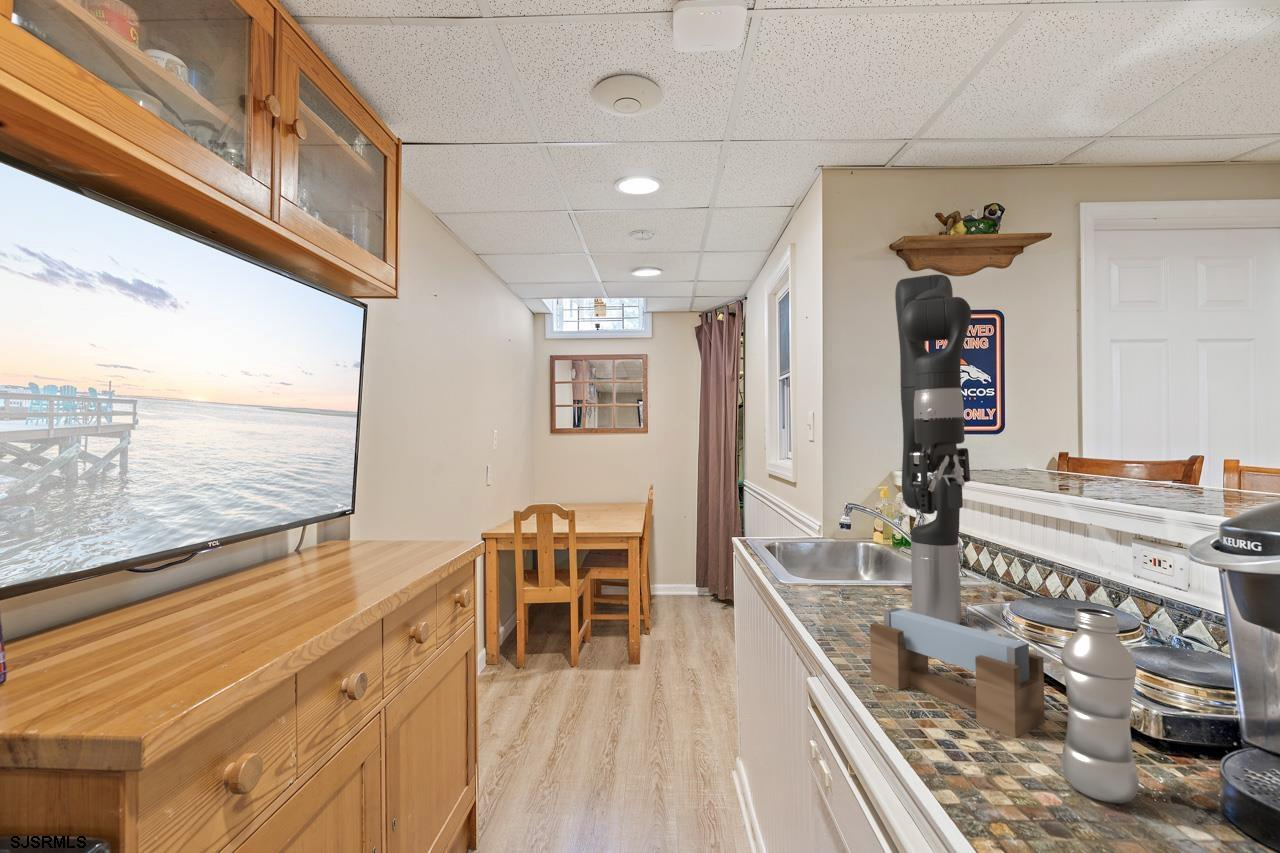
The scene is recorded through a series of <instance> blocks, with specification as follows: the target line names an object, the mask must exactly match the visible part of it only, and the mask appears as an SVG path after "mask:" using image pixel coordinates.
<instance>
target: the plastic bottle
mask: <svg viewBox="0 0 1280 853" xmlns="http://www.w3.org/2000/svg"><path fill="white" fill-rule="evenodd" d="M1073 621H1074V622H1073V624H1074V627H1076V628H1077V631H1076V632H1074V633H1073V634H1072V635H1071V636H1070V637H1069V638H1068V639H1067V641H1066V642H1065V643H1064V645H1063V647H1062V650H1061V653H1060V657H1061V663H1062V670H1063V671H1062V672H1063V675H1064V682H1065V688H1066V701H1067V721H1066V722H1067V725H1066V732H1065V741H1064V744H1063V746H1062V754H1061V760H1060V761H1061V766H1062V772H1063V774H1064V776H1065V778H1066V779H1067V781H1068V783H1069V784H1070V785H1071V786H1072V787H1073V788H1074V790H1077V791H1078V792H1080V793H1082V794H1083V795H1085V796H1087V797H1090V798H1092V799H1095V800H1098V801H1101V802H1104V803H1105V802H1106V803H1109V804H1120V805H1121V804H1123V805H1124V804H1128V803H1130V802H1131V801H1132V800H1133V799H1134V798H1135V797H1136V796H1137V794H1138V789H1139V784H1140V778H1139V773H1138V768H1137V764H1136V760H1135V758H1134V752H1133V751H1134V750H1133V742H1132V733H1131V715H1132V700H1133V693H1134V688H1135V683H1136V676H1137V664H1136V662H1135V659H1134V657H1133V656H1132V654H1131V653H1130V651H1129V650H1128V649H1127V647H1126V646H1125V645H1124V644H1123V643H1122V642H1121V640H1120V639H1119V638H1118V637H1117V634H1119V633H1120V627H1119V626H1118V625H1119V624H1118V623H1119V622H1118V615H1117V614H1116V613H1115V612H1113V611H1110V610H1105V609H1101V608H1095V607H1094V608H1093V607H1076V608H1074V620H1073Z"/></svg>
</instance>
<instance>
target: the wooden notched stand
mask: <svg viewBox="0 0 1280 853" xmlns="http://www.w3.org/2000/svg"><path fill="white" fill-rule="evenodd" d="M869 627H870V628H869V630H870V631H869V632H870V635H869V637H870V643H869V644H870V680H872V681H874V682H876V683H879V684H881V685H884V686H886V687H889V688H892V689H893V690H894V689H895V690H897V691H901V690H904V689H906V688H908V687H911V688H914V689H916V690H919V691H921V692H924V693H926V694H929V695H931V696H934V697H936V698H940V699H941V700H944V701H947V702H950V703H952V704H954V705H957V706H960V707H962V708H965V709H968V710H969V711H973V712H975V713H976V723H977V724H980V725H982V726H985V727H988V728H990V729H993V730H995V731H997V732H999V733H1002V734H1005V735H1007V736H1009V737H1012V738H1015V739H1016V738H1018V737H1020V736H1023V735H1024V734H1026V733H1028V732H1029V731H1031V730H1033V729H1035V728H1037V727H1039V726H1041V725H1043V724H1045V723H1046V721H1045V720H1046V718H1045V716H1046V714H1045V713H1046V712H1045V710H1046V709H1045V707H1046V706H1045V671H1044V668H1045V666H1044V664H1045V662H1044V656H1041V655H1038V654H1034V653H1032V652H1031V653H1030V652H1029V678H1030V680H1027V681H1025V682H1023V683H1020V667H1019V666H1016V665H1013V664H1009V663H1006V662H1003V661H1000V660H996V659H993V658H990V657H987V656H983V655H979V656H977V657H975V663H976V672H975V687H972V686H971V685H970V686H969V685H966V684H963V683H961V682H958V681H955V680H953V679H949V678H948V677H944V676H943V675H942V676H941V675H938V674H936V673H933V672H930V671H929V656H926V655H923V654H920V653H917V652H914V651H911V650H908V649H905V648H904V633H903V631H902V630H899V629H895V628H892V627H889V626H886V625H884V624H882V623H878V622H873V623H870V624H869Z"/></svg>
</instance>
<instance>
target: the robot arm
mask: <svg viewBox="0 0 1280 853" xmlns="http://www.w3.org/2000/svg"><path fill="white" fill-rule="evenodd" d="M952 286H953V285H952V282H951V279H950V278H949V277H948V276H947V275H944V274H930V275H923V276H921V275H920V276H915V277H914V276H913V277H908V278H902V279H899V280H898V282H897V283H896V286H895V294H894V297H895V298H894V299H895V300H894V301H895V313H896V322H897V331H898V341H899V354H900V357H899V358H900V362H899V363H900V372H899V373H900V405H901V416H902V435H903V436H902V437H903V438H902V440H903V442H902V465H901V470H902V471H901V493H902V494H901V495H902V498H903V502H904V504H905V505H906V507H908V508H909V509H911V510H912V509H913V510H919V511H920V513H921V514H924V515H933V514H935V512H936V517H935V519H934V520H932V521H930V522H928V523H926V524H919V525H917V526H916V525H915V526H914V527H912V528H911V530H910V553H911V554H910V556H911V557H910V558H911V563H910V564H911V612H914V613H918V614H921V615H925V616H929V617H932V618H936V619H940V620H943V621H947V622H951V623H954V624H958V625H961V622H962V603H961V602H962V599H961V598H962V594H961V591H962V590H961V586H962V585H961V578H960V569H959V568H960V564H959V563H960V561H959V560H960V558H959V533H960V514H961V513H960V512H961V511H960V510H961V509H962V508H963V501H964V500H963V488H964V487H965V484H966V483H969V482H970V481H971V470H970V458H969V456H970V455H969V448H966V447H964V448H963V447H957V445H959V444H963V443H964V442H965V439H966V438H965V415H964V414H965V413H964V398H963V393H962V378H961V368H962V366H961V362H962V354H963V349H964V345H965V340H966V337H967V333H968V331H969V326H970V323H971V319H972V310H971V306H970V305H969V302H968V301H967V300H966V299H964V298H963V297H961V296H954V295H953V294H954V293H953V287H952ZM944 340H947V342H946V345H945V346H944V348H943V349H941V350H940V351H937V352H933V353H929V351H928V350H927V349H926V348H925V346H924V344H923V342H933V341H944Z"/></svg>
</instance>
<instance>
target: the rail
mask: <svg viewBox="0 0 1280 853" xmlns="http://www.w3.org/2000/svg"><path fill="white" fill-rule="evenodd" d="M883 625H886V626H889V627H892V628H895V629H899V630H902V631H903V633H904V648H905V649H908V650H911V651H914V652H917V653H920V654H923V655H926V656H928V658H929V657H930V658H933V659H935V660H939V661H941V662H945V663H948V664H951V665H954V666H957V667H959V668H962V669H965V670H969V671H971V672H975V673H976V663H975V657H977V656H979V655H983V656H987V657H990V658H993V659H996V660H1000V661H1003V662H1006V663H1009V664H1013V665H1016V666H1019V667H1020V683H1023V682H1025V681H1027V680H1030V678H1029V653H1030V644H1029V642H1026V641H1021V640H1017V639H1013V638H1009V637H1006V636H1002V635H998V634H994V633H991V632H987V631H983V630H979V629H976V628H973V627H968V626H965V625H961V624H960V625H958V624H954V623H951V622H947V621H943V620H940V619H936V618H932V617H929V616H925V615H921V614H918V613H914V612H912V611H911V610H910V611H909V610H906V609H904V608H900V607H897V608H893V609H889V610H885V611H883Z"/></svg>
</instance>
